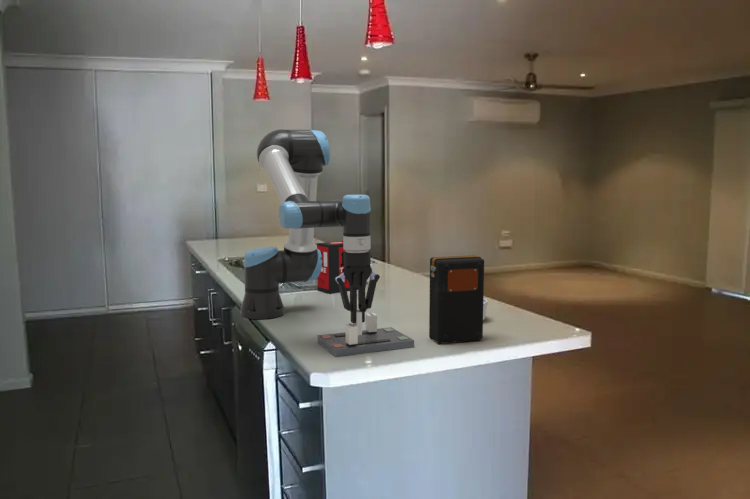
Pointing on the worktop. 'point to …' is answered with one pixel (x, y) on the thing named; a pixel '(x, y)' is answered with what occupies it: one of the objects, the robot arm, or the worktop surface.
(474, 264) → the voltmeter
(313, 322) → the worktop surface
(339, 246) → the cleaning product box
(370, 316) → the block
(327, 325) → the worktop surface
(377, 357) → the worktop surface
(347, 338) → the block
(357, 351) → the breaker panel
